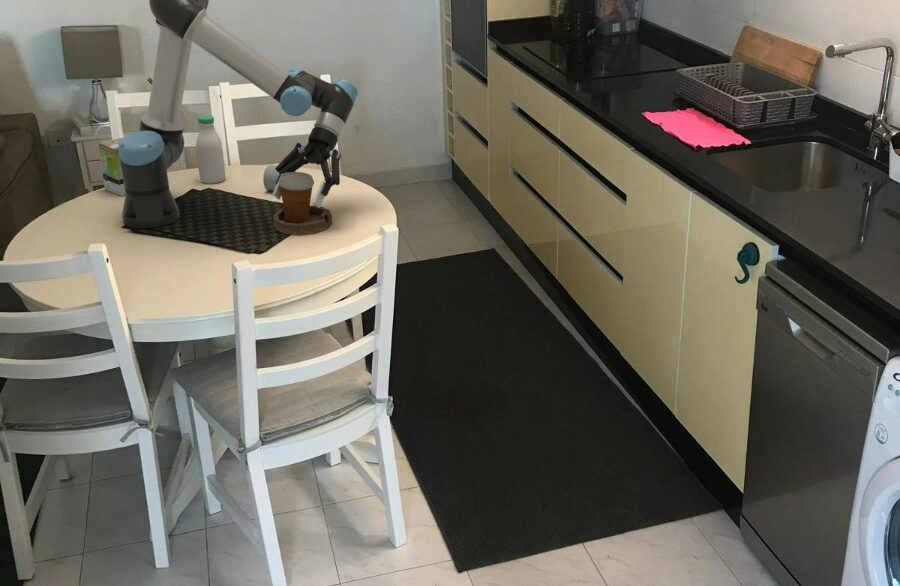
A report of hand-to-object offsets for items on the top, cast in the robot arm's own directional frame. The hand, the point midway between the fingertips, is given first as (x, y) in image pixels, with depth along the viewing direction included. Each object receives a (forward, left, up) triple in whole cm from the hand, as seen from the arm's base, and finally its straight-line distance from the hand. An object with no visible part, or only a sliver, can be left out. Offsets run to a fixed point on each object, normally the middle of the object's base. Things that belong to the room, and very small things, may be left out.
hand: (295, 201), depth 258 cm
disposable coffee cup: (0, +4, -7) cm, 8 cm away
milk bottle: (-20, +48, -8) cm, 52 cm away
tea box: (-43, +48, -8) cm, 65 cm away
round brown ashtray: (+2, +2, -7) cm, 8 cm away
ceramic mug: (-1, +33, -8) cm, 34 cm away
